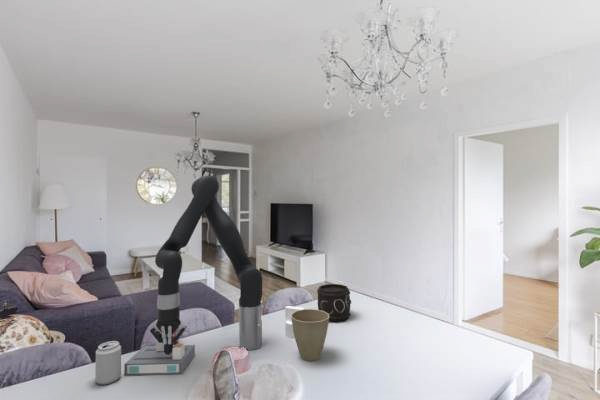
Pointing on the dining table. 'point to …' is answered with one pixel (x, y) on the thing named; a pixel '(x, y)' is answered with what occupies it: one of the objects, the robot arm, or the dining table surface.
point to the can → (108, 362)
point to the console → (157, 362)
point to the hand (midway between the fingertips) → (168, 353)
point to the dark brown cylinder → (334, 301)
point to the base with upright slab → (290, 320)
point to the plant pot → (310, 332)
